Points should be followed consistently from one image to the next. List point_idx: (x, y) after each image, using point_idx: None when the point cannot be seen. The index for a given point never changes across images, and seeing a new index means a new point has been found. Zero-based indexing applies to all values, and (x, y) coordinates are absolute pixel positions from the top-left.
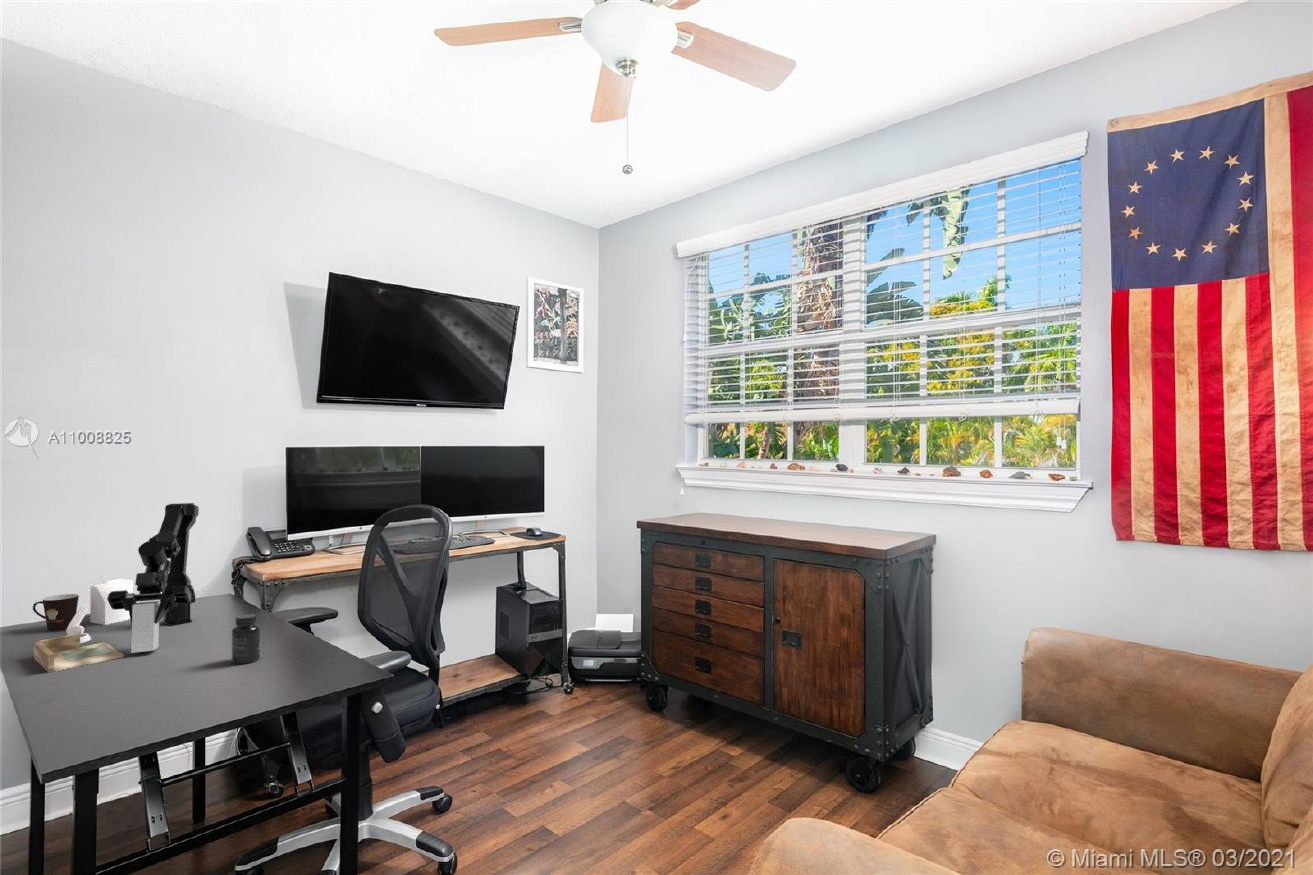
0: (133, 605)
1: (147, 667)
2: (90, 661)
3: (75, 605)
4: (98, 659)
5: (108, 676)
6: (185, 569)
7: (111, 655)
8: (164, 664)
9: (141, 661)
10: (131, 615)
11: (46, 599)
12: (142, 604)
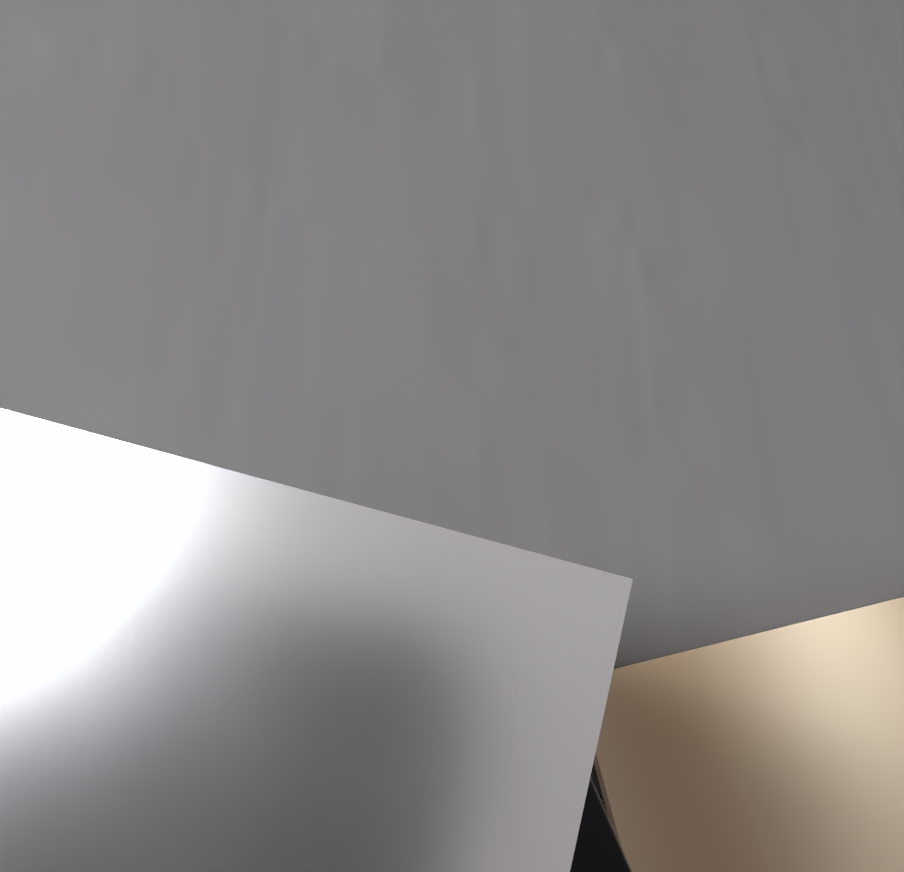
0: (581, 575)
1: (360, 129)
2: (900, 614)
3: None
4: (829, 651)
5: (645, 66)
6: None
7: (711, 759)
8: (225, 131)
9: (398, 364)
10: (582, 855)
11: None
12: (159, 456)
